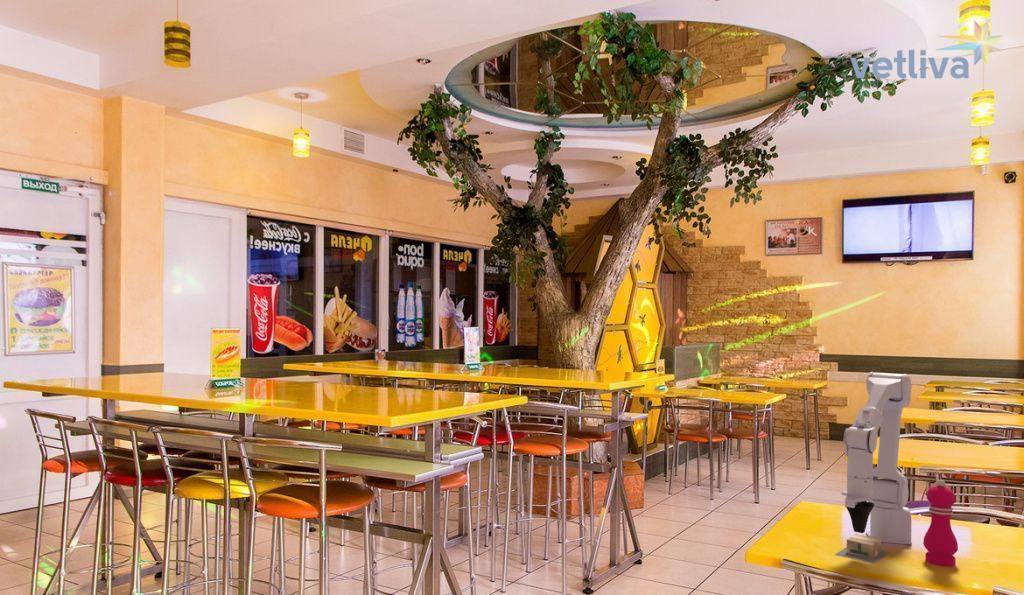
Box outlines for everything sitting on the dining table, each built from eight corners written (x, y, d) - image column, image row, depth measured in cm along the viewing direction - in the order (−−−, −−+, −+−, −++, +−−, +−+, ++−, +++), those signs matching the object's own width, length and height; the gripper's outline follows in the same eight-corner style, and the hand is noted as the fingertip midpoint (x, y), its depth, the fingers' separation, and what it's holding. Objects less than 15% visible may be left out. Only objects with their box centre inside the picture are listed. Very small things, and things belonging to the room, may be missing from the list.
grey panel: (852, 544, 189) (852, 543, 189) (890, 552, 183) (890, 551, 183) (834, 555, 180) (834, 554, 180) (873, 564, 173) (873, 563, 173)
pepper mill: (957, 570, 171) (958, 484, 171) (922, 564, 175) (923, 480, 175) (958, 561, 177) (958, 478, 177) (923, 555, 181) (924, 474, 181)
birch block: (872, 545, 177) (881, 539, 183) (846, 539, 182) (856, 533, 187) (872, 558, 177) (881, 552, 182) (846, 552, 182) (856, 546, 187)
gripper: (852, 469, 188) (852, 522, 187) (832, 478, 177) (831, 534, 177) (882, 474, 183) (881, 528, 183) (863, 483, 172) (862, 540, 172)
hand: (859, 531), depth 179 cm, fingers closed
